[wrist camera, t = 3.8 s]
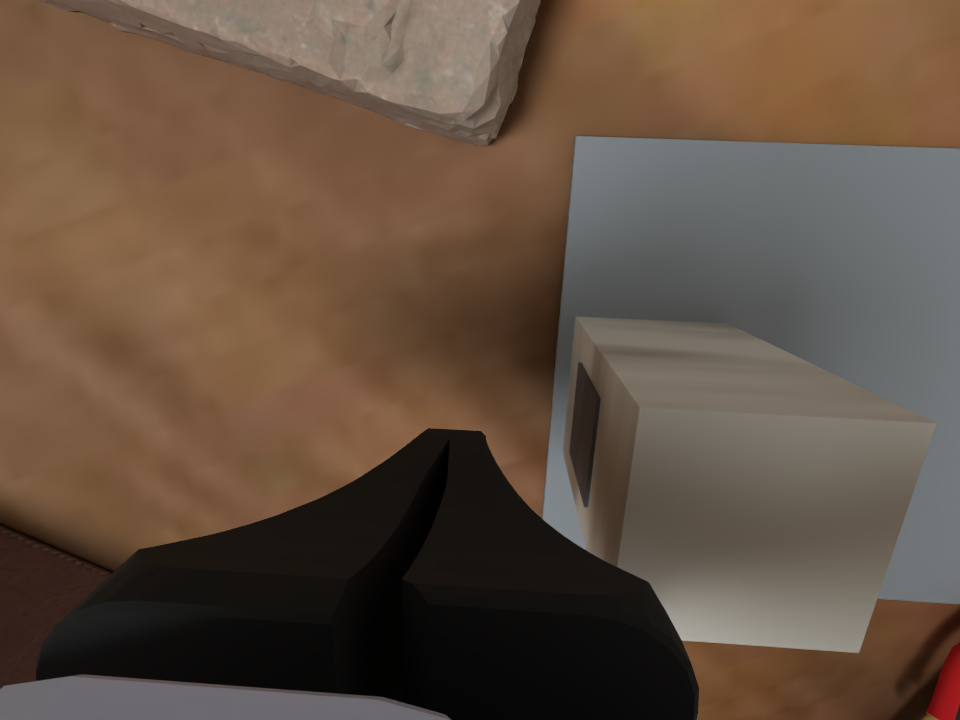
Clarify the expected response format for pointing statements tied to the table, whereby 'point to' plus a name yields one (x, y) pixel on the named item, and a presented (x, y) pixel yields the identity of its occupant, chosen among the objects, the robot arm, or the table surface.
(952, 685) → the person figure
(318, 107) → the table surface
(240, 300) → the table surface
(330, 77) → the brick
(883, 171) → the slate mat
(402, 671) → the robot arm
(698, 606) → the cream block
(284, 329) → the table surface
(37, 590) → the letter holder
